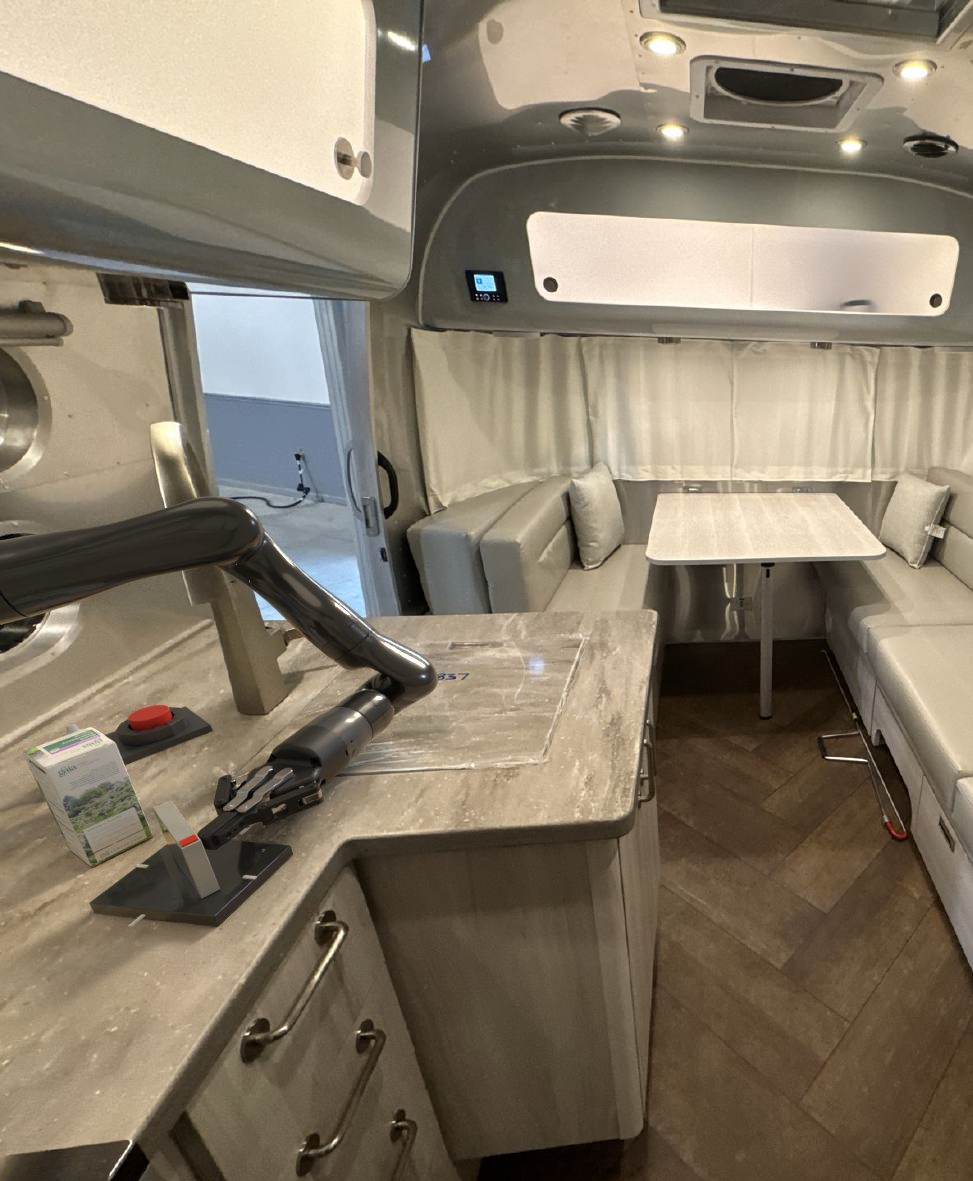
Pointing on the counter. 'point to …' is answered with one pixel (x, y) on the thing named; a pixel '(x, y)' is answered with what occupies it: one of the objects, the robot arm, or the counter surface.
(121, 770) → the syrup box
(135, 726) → the power button
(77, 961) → the counter surface
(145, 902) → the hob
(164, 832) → the gray battery pack
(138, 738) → the black button base
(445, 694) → the counter surface
